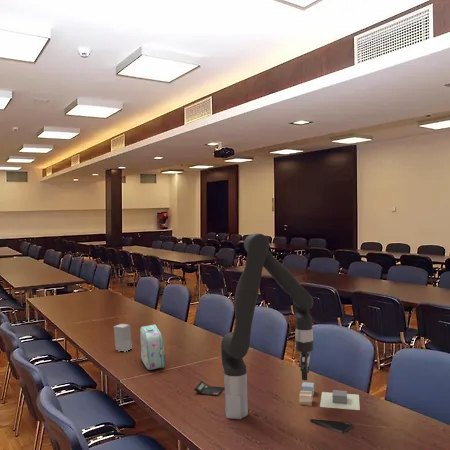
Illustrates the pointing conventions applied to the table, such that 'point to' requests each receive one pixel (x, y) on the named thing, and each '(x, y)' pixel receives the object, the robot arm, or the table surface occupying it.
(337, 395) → the base brick
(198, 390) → the calculator
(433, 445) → the table surface
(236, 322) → the robot arm
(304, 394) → the birch block
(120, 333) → the skincare box
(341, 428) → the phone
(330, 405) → the plate
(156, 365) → the lunch box
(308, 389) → the blue block
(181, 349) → the table surface
